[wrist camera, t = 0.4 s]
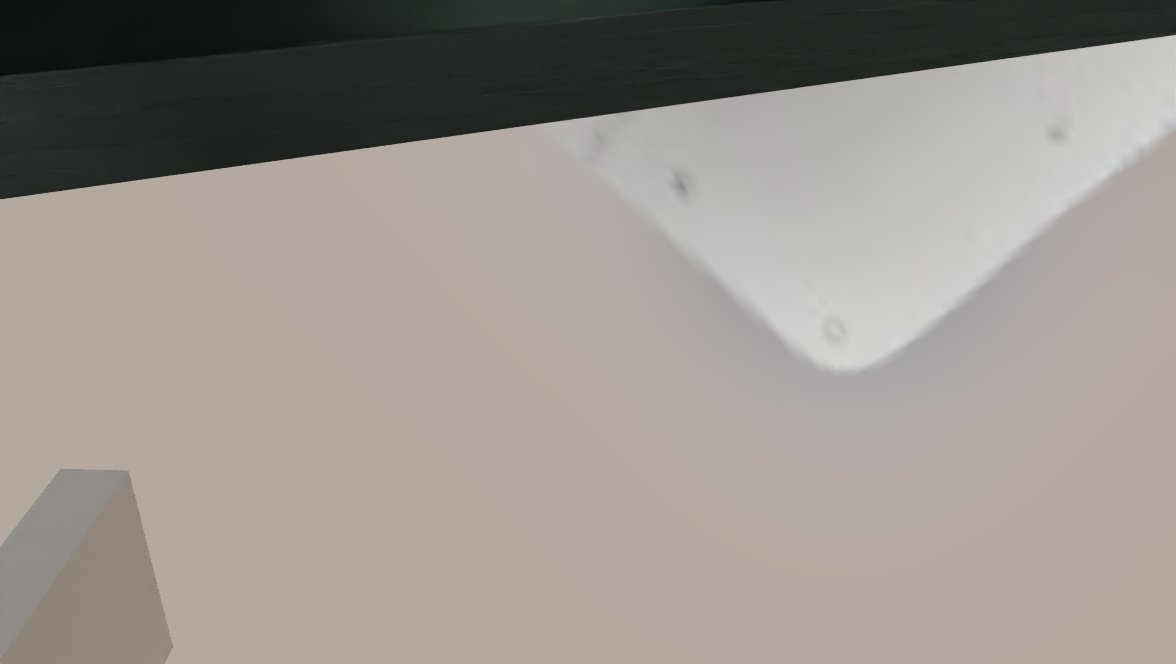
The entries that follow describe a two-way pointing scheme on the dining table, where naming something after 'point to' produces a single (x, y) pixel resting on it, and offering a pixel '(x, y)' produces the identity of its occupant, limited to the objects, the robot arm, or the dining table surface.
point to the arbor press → (450, 68)
